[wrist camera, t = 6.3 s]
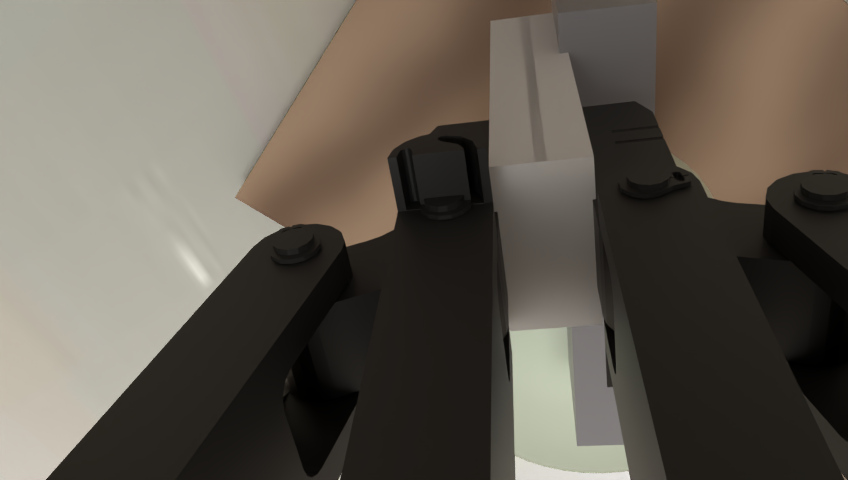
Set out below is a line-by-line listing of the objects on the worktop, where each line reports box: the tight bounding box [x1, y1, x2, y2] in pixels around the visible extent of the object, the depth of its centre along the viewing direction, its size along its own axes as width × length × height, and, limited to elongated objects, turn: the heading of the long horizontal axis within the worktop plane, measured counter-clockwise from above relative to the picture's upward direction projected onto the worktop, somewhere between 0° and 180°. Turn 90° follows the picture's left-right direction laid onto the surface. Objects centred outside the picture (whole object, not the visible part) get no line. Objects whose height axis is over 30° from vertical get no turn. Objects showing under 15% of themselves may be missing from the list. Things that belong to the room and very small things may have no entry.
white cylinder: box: [510, 0, 714, 473], centre depth 20 cm, size 14×8×8 cm, turn 7°
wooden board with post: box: [235, 0, 848, 247], centre depth 29 cm, size 20×20×9 cm
